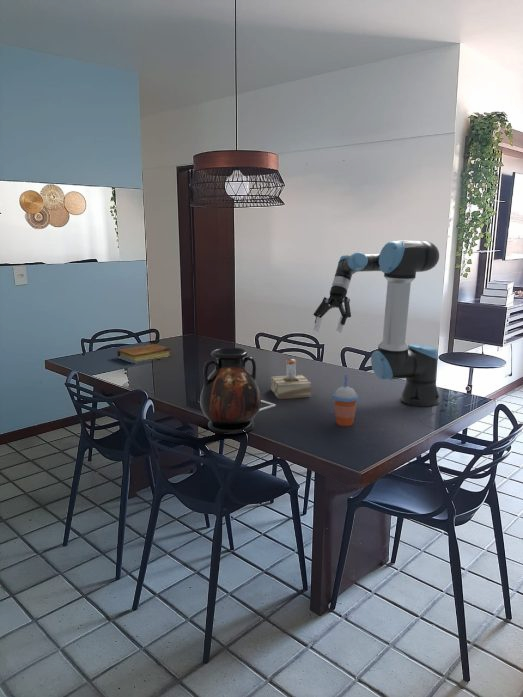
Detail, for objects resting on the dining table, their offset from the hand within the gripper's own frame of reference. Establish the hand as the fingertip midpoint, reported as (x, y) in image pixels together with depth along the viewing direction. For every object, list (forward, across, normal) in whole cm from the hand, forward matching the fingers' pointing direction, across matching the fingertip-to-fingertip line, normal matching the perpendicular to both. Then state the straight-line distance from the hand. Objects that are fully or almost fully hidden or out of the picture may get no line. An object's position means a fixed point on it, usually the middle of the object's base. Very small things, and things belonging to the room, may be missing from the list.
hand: (327, 331), depth 243 cm
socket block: (+32, +3, +7) cm, 33 cm away
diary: (+28, +107, +22) cm, 112 cm away
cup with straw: (+42, -36, +16) cm, 58 cm away
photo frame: (+44, +4, +28) cm, 53 cm away
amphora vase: (+56, -12, +46) cm, 74 cm away
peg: (+31, +3, +8) cm, 32 cm away
